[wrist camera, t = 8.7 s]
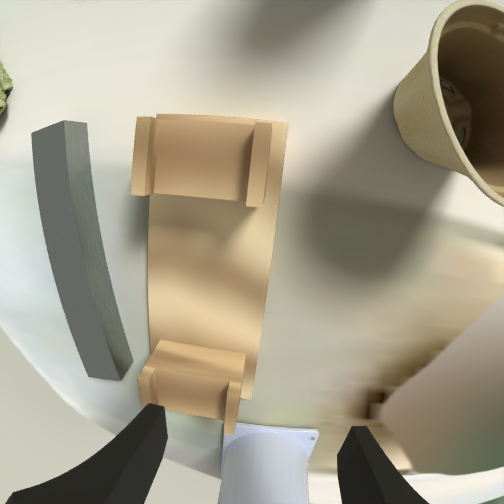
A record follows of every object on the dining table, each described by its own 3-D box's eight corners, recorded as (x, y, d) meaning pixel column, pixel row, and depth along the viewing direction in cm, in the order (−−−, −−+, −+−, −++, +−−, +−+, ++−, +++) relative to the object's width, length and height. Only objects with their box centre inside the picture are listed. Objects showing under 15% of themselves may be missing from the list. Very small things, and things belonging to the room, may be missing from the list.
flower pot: (365, 182, 18) (432, 201, 9) (362, 37, 15) (414, -30, 7) (483, 195, 17) (571, 221, 9) (481, 68, 14) (560, 43, 6)
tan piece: (251, 392, 22) (246, 442, 17) (156, 376, 23) (133, 420, 18) (287, 124, 17) (293, 110, 12) (161, 115, 17) (123, 102, 12)
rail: (135, 358, 23) (120, 381, 20) (104, 356, 23) (88, 376, 20) (89, 123, 18) (64, 120, 15) (57, 133, 18) (31, 133, 15)
